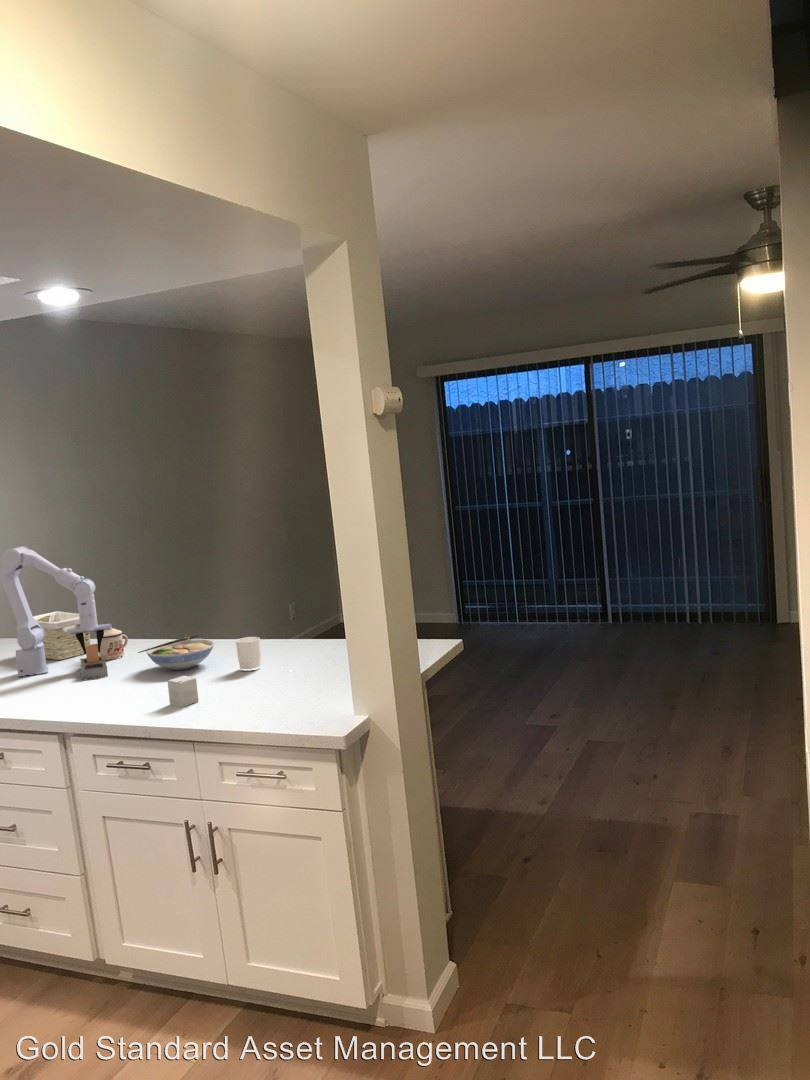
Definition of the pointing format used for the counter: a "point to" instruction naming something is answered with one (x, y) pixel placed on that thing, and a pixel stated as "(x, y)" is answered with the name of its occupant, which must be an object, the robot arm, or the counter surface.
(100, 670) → the grey slotted board
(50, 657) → the storage basket
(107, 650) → the teacup with lid
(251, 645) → the white cup
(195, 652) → the ramen bowl
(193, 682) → the skincare box
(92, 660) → the orange brown block
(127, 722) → the counter surface
